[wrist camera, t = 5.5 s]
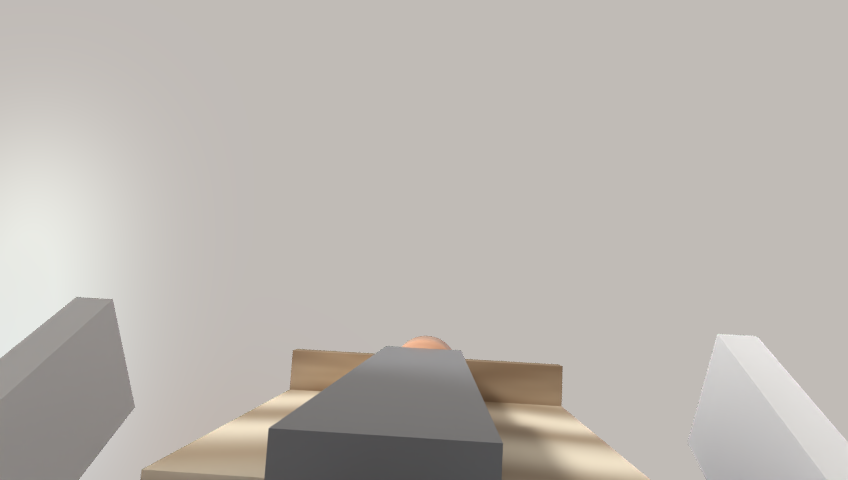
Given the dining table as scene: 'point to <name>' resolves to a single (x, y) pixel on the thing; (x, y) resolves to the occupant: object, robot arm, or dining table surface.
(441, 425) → the grey long square-ended piece
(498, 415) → the wooden pedestal stand
